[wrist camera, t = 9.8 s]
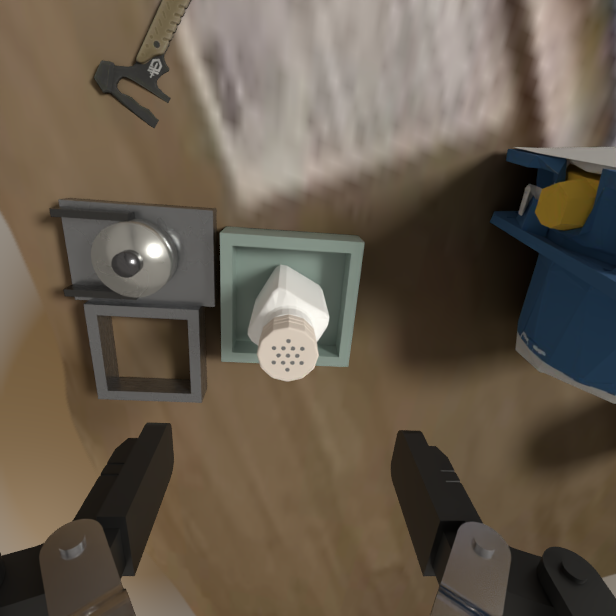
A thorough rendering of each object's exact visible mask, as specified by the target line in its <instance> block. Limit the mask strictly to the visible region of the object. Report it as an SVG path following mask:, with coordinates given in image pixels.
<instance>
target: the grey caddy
mask: <svg viewBox="0 0 616 616" xmlns="http://www.w3.org/2000/svg"><path fill="white" fill-rule="evenodd" d="M59 206H60V207H55V208H49V209H50V215H51V217H61V218H62V224H63V230H64V236H65V242H66V248H67V254H68V260H69V266H70V272H71V278H72V285H70V286H69V287H67V288H65V289H64V294H65V296H71V297H75V300H89V301H87V302H86V303H84V311H85V317H86V323H87V330H88V336H89V342H90V349H91V355H92V361H93V368H94V374H95V380H96V387H97V393H98V399H113V400H141V401H170V402H198V403H202V401H203V398H204V395H205V393H206V390H207V370H206V335H205V306H207V307H215V305H216V303H217V301H218V295H217V228H216V209H215V208H201V207H187V206H173V205H159V204H145V203H132V202H118V201H104V200H90V199H76V198H65V199H59ZM111 316H123V317H143V318H162V319H182V320H188V337H189V358H190V379H191V380H185V379H160V378H134V377H119V374H118V366H117V359H116V351H115V343H114V336H113V328H112V320H111Z"/></svg>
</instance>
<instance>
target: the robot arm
mask: <svg viewBox="0 0 616 616" xmlns="http://www.w3.org/2000/svg"><path fill="white" fill-rule="evenodd" d="M173 464H174V453H173V440H172V428H171V424H170V423H147V424H146V425H145V426H144V428H143V430H142V432H141V434H140V436H139V438H128V439H127V440H126V441H124V442H123V443H122V444H121V445H120V446H119V447H117V448H116V449H115V451H114V452H113V454H112V456H111V457H110V459H109V461H108V462H107V465H106V466H105V467H104V469H103V471H102V472H101V476H99V478H98V479H97V481H96V483H95V485H94V486H93V488H92V489H91V491H90V493H89V494H88V496H87V498H86V499H85V501H84V503H83V505H82V506H81V508H80V510H79V511H78V513H77V515H76V517H75V518H74V520H73V521H72V522H70V523H67V524H65V525H64V526H62V527H60V528H59V529H57V530H56V531H55V532H54V533H53V534H52V535H50V536H49V537H48V539H47V540H46V541H45V543H43V544H41V545H38V546H35V547H32V548H28V549H25V550H21V551H17V552H14V553H10V554H7V555H3V556H1V553H0V616H136V615H135V612H134V610H133V606H132V604H131V601H130V598H129V595H128V593H127V591H126V589H124V588H123V586H122V583H121V577H122V576H135V573H136V571H137V568H138V565H139V562H140V560H141V557H142V554H143V552H144V549H145V546H146V543H147V541H148V538H149V535H150V532H151V530H152V527H153V524H154V522H155V519H156V516H157V513H158V511H159V508H160V505H161V502H162V500H163V497H164V494H165V491H166V489H167V486H168V483H169V481H170V478H171V475H172V470H173ZM391 477H392V481H393V485H394V488H395V491H396V494H397V497H398V500H399V503H400V506H401V509H402V512H403V515H404V518H405V521H406V524H407V527H408V531H409V534H410V537H411V540H412V543H413V546H414V549H415V552H416V555H417V558H418V561H419V564H420V567H421V570H422V574H423V576H436V578H437V581H438V584H439V589H438V592H437V595H436V598H435V601H434V604H433V607H432V610H431V614H430V616H616V598H615V597H614V595H613V594H612V592H611V591H610V590H609V588H608V587H607V585H606V584H605V583H604V581H603V579H602V578H601V577H600V575H599V574H598V572H597V571H596V570H595V569H594V568H593V567H592V566H591V565H590V564H589V563H588V562H587V561H586V560H585V559H583V558H582V557H581V556H579V555H578V554H576V553H574V552H572V551H570V550H568V549H565V548H561V547H550V548H548V549H546V550H545V552H544V554H543V556H542V557H540V556H536V555H533V554H530V553H527V552H524V551H520V550H517V549H514V548H512V547H510V546H508V545H507V543H506V542H505V540H504V539H503V538H502V537H501V536H500V535H499V534H498V533H497V532H496V531H495V530H493V529H492V528H490V527H488V526H486V525H484V524H483V523H482V521H481V519H480V517H479V515H478V513H477V512H476V510H475V508H474V506H473V504H472V502H471V500H470V498H469V497H468V495H467V493H466V491H465V489H464V487H463V485H462V484H461V483H460V480H459V478H458V476H457V474H456V473H455V472H454V469H453V467H452V465H451V463H450V461H449V459H448V457H447V456H446V455H444V454H443V453H442V452H441V451H440V450H439V449H438V448H437V447H436V446H428V444H427V442H426V440H425V438H424V435H423V434H422V432H421V431H408V430H399V431H398V433H397V438H396V442H395V447H394V452H393V456H392V461H391Z"/></svg>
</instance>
